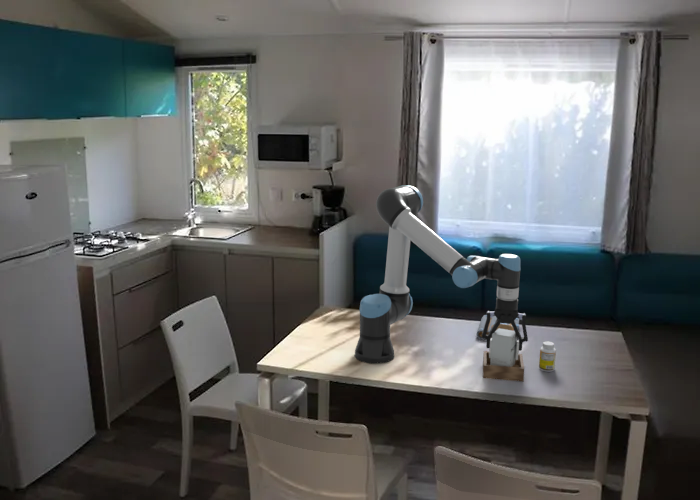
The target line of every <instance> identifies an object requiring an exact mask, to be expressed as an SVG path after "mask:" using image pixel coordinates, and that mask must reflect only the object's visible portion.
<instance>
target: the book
mask: <svg viewBox="0 0 700 500" xmlns="http://www.w3.org/2000/svg"><path fill="white" fill-rule="evenodd" d="M486 319H487V314H484V315H483V316H482V317H481V320H480V323H479V324H478V327H477V331H476V334H475V335H476V338H477V339H479V340H485V341H487V340H486V339H485V338H482V332H483V329H484V326H485V322H486ZM496 320H497V318H496V316H495V315H493V317H492V318H490V323H489V326H488V330H487V333H486V334H487V335H488V333H489V332H490V330H491V326H492V325H494V324H495V322H496ZM514 321H515V323H516V326H517V328H518V330H519V329H520V318H519V317H517V318H516V319H515V320H514ZM500 324H506V325H510V326H512V325H511V323H510V324H507V323H500ZM519 331H520V330H519ZM491 338H492V337H491Z"/></svg>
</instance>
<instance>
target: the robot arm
mask: <svg viewBox="0 0 700 500" xmlns="http://www.w3.org/2000/svg"><path fill="white" fill-rule="evenodd" d="M423 205H424V198H423V195H422V193H421V192H420V191H419V189H418V188H417V187H415V186H413V185H410V184H408V185H404V184H402V185H399V186H395V187H390V188H386V189H384V190H382V191H380V193H379V194H378V196H377V198H376V201H375V208H376V211H377V214H378V216H379V217H380V218H381V220H382V221H383V222H384V223H385V224H386V225H388V236H387V237H388V239H387V251H386V262H385V273H384V282H383V284H381V285H380V286H379V293H373V294H369V295H365V296H363V297H362V298H361V300H360V303H359V304H360V305H359V309H358V310H359V338H358V340H357V344H356V347H355V349H354V357H355V359H356V360H358V361H360V362H362V363H366V364H375V365H376V364H384V363H385V364H386V363H388V362H391V361H393V359H394V358H395V349H394V346H393V342H392V340H391V325H393V324H395V323H397V322H398V321H401V320H403V319H404V318H405V317H407V316H408V315H409V314H410V313H411V311H412V309H413V304H414V302H413V297H412V296H411V294H410V288H409V287H408V286H407V280H408V270H409V269H408V268H409V258H410V249H411V242H412V243H413V244H414V245H416V246H417V247H418V248H419V249H421V251H423V252H424V253H425V254H426V255H427V256H429V257H430V258H431V260H433V261H435V262H436V263H437V264H438V266H441V267H442V268H443V269H444V270H445V271H446V272H448V273H449V274H450V275H451V276H452V282H453V283H454V285H456V287H458V288H460V289H466V288H469V287H473V286H474V285H475V284H477V283H478V282H480V281H482V280H484V279H486V280H493V281H497V284H496V285H497V286H496V299H495V300H496V302H495V308H494V311H490V310H487V311H486V315H487V319H486V322H485V326H484V329H483V332H482V338H485V339H486V340H485V339H484V340H485V341H486V344H485V345H486V349H489V351H488V352H489V358H491V344H492V338H491V337H492V334H493V333H494V332H495V331H496V329H497V328H498V326H499V325H500V323H507V324H510V323H511V325H512V327H513V329H514V331H515V333H516V336H517V343H516V360H518V354H520V353H519V351H520V352H521V351H522V350H523V343H524V342H528V341H529V339H528V332H527V325H526V319H527V314H526V313H525V312H523V313H520V312H519V311H518V307H519V305H518V304H519V299H518V298H519V293H520V292H519V291H520V279H521V277H520V276H521V270H522V269H521V258H520V256H519V255H516V254H512V253H502V254H500V255H499V256H498V258H491V257H485V256H480V255H469V256H467V258H466V257H465V256H463V255H462V254H461V253H459V252H458V251H457V250H456V249H455V248H453V246H451V245H450V244H449V243H448V242H446V241H445V240H444V239H443V238H441V236H439V235H438V234H437V233H435V232H434V231H433V230H432V229H431V228H430V227H429V226H427V225H426V224H425V223H424V222H423V221H421V220H420V219H419V218H418V213H419V212H420V211H422V208H423ZM493 316H496V318H497V320H496V322H495V324H494V325H493V327H492V328H491V330H490V332H489V333H488V335H487V334H486V333H487V330H488V326H489V323H490V318H492V317H493ZM516 318H519V321H521V327H522V333H523V337H522V335H521V333H520V330H518V328H517V326H516V323H515V321H514V320H515V319H516Z"/></svg>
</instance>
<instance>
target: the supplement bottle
mask: <svg viewBox="0 0 700 500" xmlns="http://www.w3.org/2000/svg"><path fill="white" fill-rule="evenodd" d="M556 354H557V349H556V348H555V343H554V342H552V341H548V340H547V341H543V342H542V346H541V347H540V350H539V361H538V364H539V365H538V369H539V370H540V371H542V372H547V373H550V372H554V371H555V366H556V356H557V355H556Z"/></svg>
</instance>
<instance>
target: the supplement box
mask: <svg viewBox="0 0 700 500" xmlns="http://www.w3.org/2000/svg"><path fill="white" fill-rule="evenodd" d="M517 340H518V338H517V336H516V333H515V331H512V330H506V329H500V328H498V329H497V330H496V331H495V332H494V333H493V334H492V344H491V360H490V365H496V366H508V367H512V366H513V365H514V364H515V360H516V343H517Z"/></svg>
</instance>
